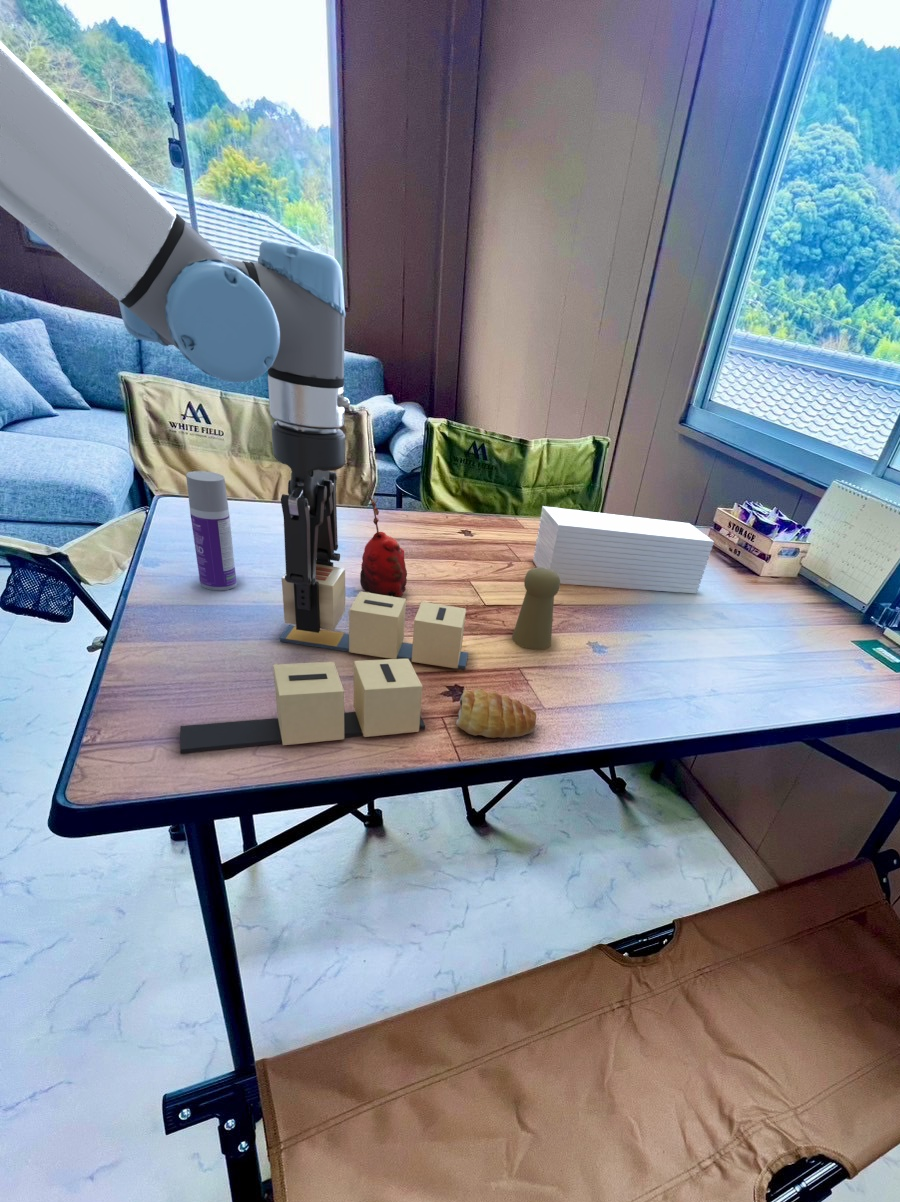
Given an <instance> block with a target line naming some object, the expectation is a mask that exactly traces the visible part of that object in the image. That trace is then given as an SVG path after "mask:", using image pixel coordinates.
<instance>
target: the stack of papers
mask: <svg viewBox="0 0 900 1202" xmlns="http://www.w3.org/2000/svg"><path fill="white" fill-rule="evenodd" d="M537 531H538V532H537V536H536V542H535V547H534V552H533V558H532V562H533V563H534V565H535V566H536V568H538V567H540V568H546V569H550V570H552V571H554V572H555V573H557V574H558V576H559V578H560V585H561V584H562V585H574V586H575V585H576V586H587V587H588V586H589V587H602V588H613V589H615V588H616V589H628V590H640V591H641V590H642V591H643V590H644V591H658V592H672V593H685V594H686V593H687V594H698V591H699V589H700V584H701V582H702V579H703V577H704V574H705V570H706V568H707V564H708V561H709V559H710V556H711V552H712V550H713V547H714V543H715V541H714V540H712V539H711V537H709V536H708V535H706V533H703V532H702V531H700V530H699V529H698V528H696V526H694V525H693V524H691V523H690V522H681V521H674V520H666V519H665V520H664V519H656V518H648V517H639V516H631V515H622V514H614V513H613V514H612V513H604V512H598V511H597V512H596V511H587V510H579V509H571V508H561V507H553V506H546V505H545V506H544V505H542V508H541V512H540V518H539V524H538V529H537Z"/></svg>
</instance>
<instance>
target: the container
mask: <svg viewBox="0 0 900 1202" xmlns="http://www.w3.org/2000/svg"><path fill="white" fill-rule="evenodd" d="M185 477H186V478H185V479H186V488H187V496H188V497H187V498H188V504H189V505H188V506H189V514H190V522H191V529H192V536H193V542H194V550H195V556H196V564H197V570H198V577H199V578H198V579H199V584H200V586H201V587H202V588H204V589H206V590H211V591H228V590H232V589H234V588H235V587H237V574H236V565H235V555H234V546H233V545H234V544H233V536H232V527H231V525H232V524H231V516H230V510H229V501H228V495H227V487H226V480H225V476H224V475H222V474H220V473H217V472H213V471H205V470H193V471H188V472H186V474H185Z"/></svg>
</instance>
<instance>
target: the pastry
mask: <svg viewBox="0 0 900 1202" xmlns="http://www.w3.org/2000/svg"><path fill="white" fill-rule="evenodd" d="M459 707H460V709H459V710H458V712H457V713H458V718H457V719H456V721H455V722H456V724H455V725H456V726H457V727H458V728H459V729H461V730H462V731H464V732H465V733H466V734H467V735H471V736H475V737H476V736H483V737H485V738H493V739H494V738H502V739H504V738H508V739H510V738H518V737H523V736H526V735H529V734H532V732H534V731H535V729H536V724H537V712H536V711H534V710H533V709H532V707H530V706H529V705H526V704H525V703H522V702H521V701H520V700H517V699H512V698H511V697H510V696H509V695H501V694H499V693H498V692H497V691H496V690H492V691H490V692H488V691H486V690H484V689H482V688H477V689H476V690H474V691H471V690H469V689H464V690H463V692H462V694H461V696H460V699H459Z"/></svg>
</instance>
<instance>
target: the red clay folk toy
mask: <svg viewBox="0 0 900 1202" xmlns="http://www.w3.org/2000/svg"><path fill="white" fill-rule="evenodd" d="M367 497H368V499H369V501H370V502H371V503H366V504H365V506H372V510H373V516H374V518H373V524H374V525H375V528H376V532H375V533H374V534H373V535H372V537H371V539H369V540H368V541H367V543H366V544H365V546H364V551H363V553H362V557H361V559H362V562H361V570H360V574H359V576H360V577H359V578H360V579H359V582H360V586H361V588H362V589H363V590H364V591H365V592H368V593H374V594H380V595H386V596H392V597H398V598H402V596H403V593H405V592H406V590H407V589H406V586H407V584H408V583H407V582H408V579H407V576H408V571H407V567H406V561H405V550H404V549H403V548H402V547H401V546H400V544H399V543H398V542H397V539H395V538H394V537H392V536H389V535H387V534H386V532H384V531H379V526H378V525H379V523H378V522H379V521H380V518H378V517H377V516H379V514H380V511H379V508H377V506H376V505H377V502H378V501H379V498H376V500H375V501H374V500H373V498H372V496H371V495H370V494H368V495H367Z"/></svg>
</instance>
